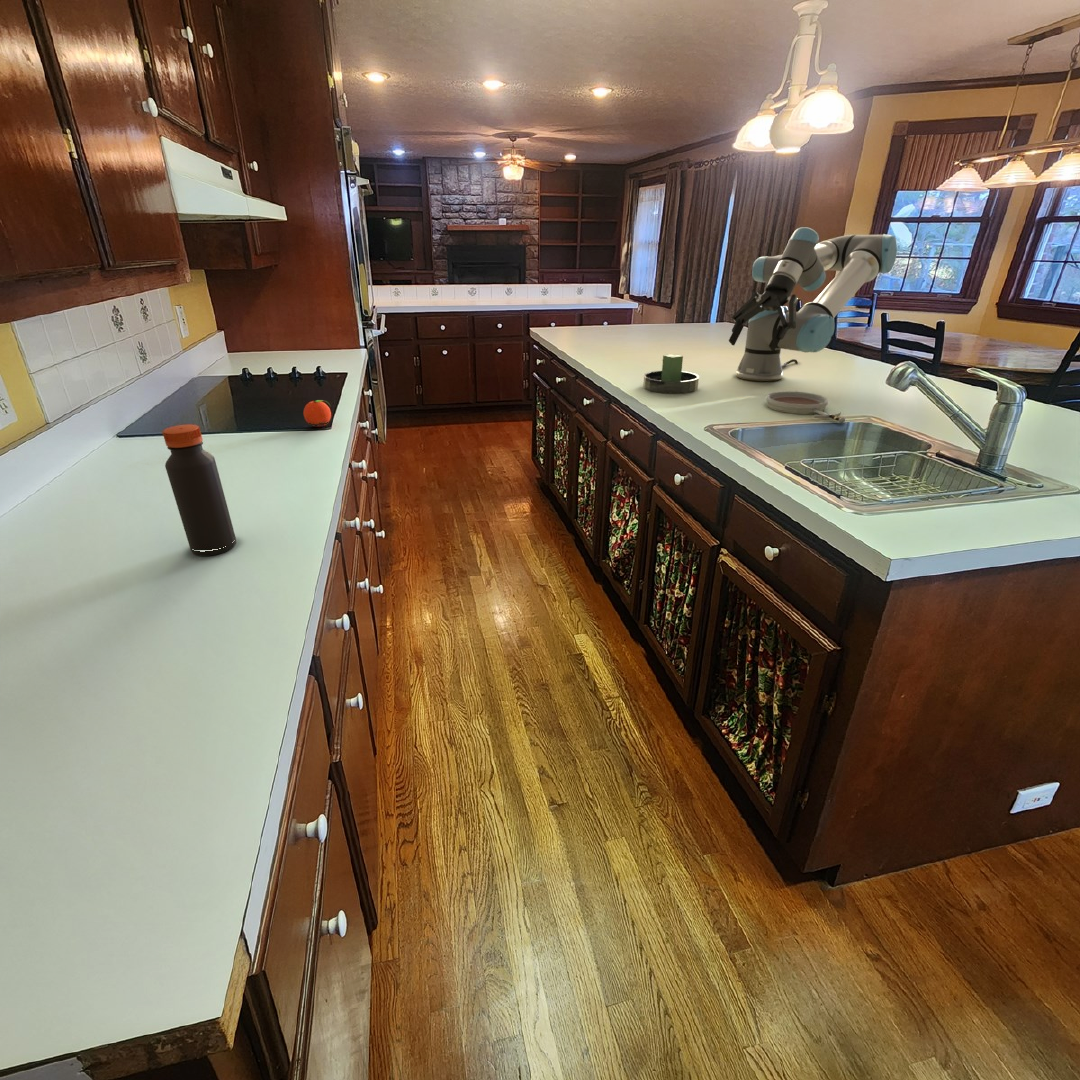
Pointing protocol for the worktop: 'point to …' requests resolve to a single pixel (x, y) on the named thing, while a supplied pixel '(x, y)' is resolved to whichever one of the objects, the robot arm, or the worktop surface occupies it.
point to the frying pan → (801, 404)
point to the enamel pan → (671, 383)
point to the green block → (672, 367)
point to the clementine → (317, 413)
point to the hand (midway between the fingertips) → (750, 345)
